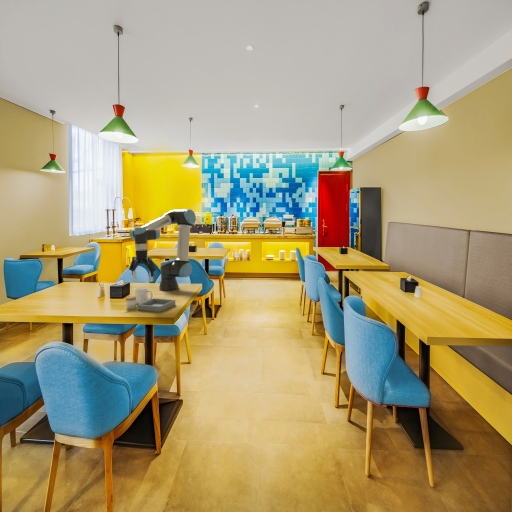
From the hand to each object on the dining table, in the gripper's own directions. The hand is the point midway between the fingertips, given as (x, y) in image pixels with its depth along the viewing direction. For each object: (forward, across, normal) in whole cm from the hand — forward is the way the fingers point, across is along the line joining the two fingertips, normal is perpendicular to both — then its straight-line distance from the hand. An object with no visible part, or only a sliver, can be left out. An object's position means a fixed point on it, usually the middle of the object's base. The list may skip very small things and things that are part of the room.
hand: (143, 280), depth 218 cm
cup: (+16, 0, 0) cm, 16 cm away
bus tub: (+15, +16, -8) cm, 23 cm away
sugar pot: (+15, 0, -13) cm, 20 cm away
